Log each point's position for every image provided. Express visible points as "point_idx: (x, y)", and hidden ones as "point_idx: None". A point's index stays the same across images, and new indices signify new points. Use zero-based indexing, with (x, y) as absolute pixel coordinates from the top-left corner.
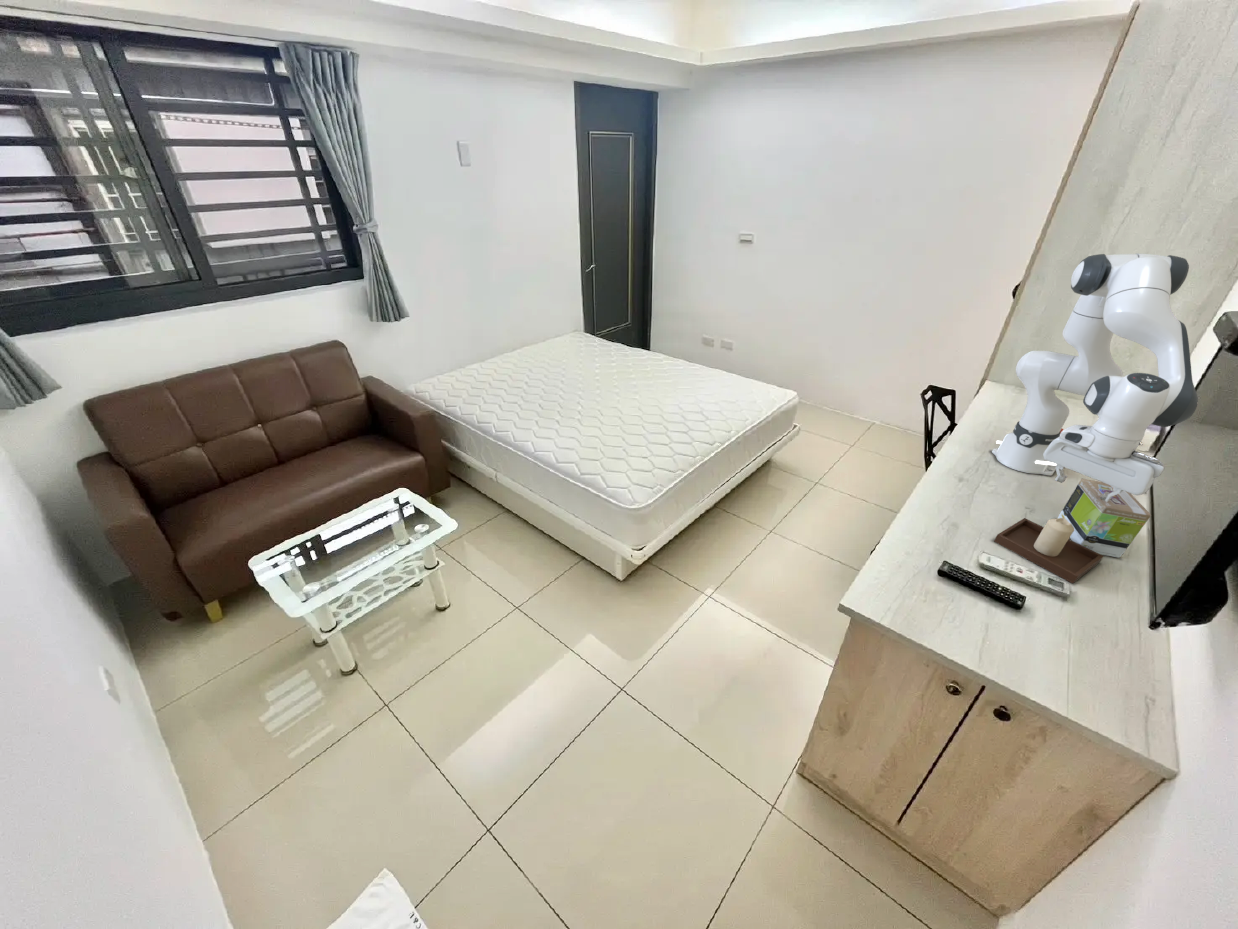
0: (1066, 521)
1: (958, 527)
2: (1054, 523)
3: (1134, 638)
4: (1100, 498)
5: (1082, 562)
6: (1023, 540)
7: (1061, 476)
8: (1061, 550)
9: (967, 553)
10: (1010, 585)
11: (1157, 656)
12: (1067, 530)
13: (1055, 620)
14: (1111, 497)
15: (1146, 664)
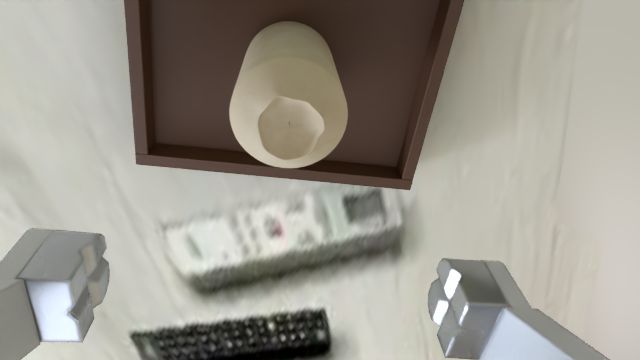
0: (299, 99)
1: (24, 162)
2: (264, 156)
3: (542, 262)
4: (432, 306)
5: (409, 36)
6: (208, 69)
7: (49, 339)
8: (332, 15)
9: (142, 267)
10: (283, 299)
11: (579, 279)
12: (326, 153)
13: (395, 328)
14: (511, 283)
15: (555, 314)
